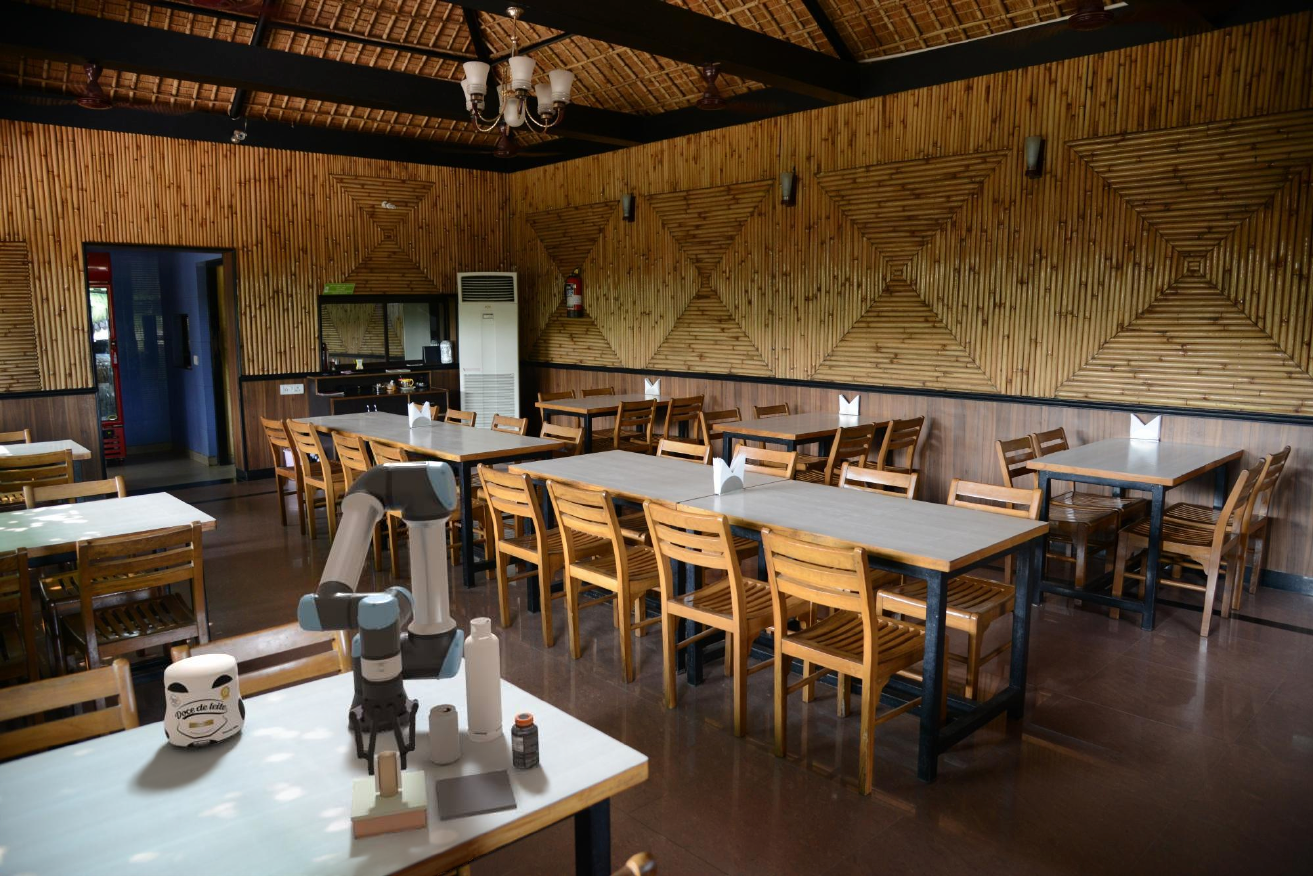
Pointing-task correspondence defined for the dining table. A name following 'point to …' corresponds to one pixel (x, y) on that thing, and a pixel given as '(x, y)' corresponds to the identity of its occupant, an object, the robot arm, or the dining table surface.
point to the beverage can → (444, 734)
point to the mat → (475, 794)
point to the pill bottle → (525, 742)
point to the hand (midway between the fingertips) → (388, 786)
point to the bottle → (483, 682)
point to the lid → (388, 791)
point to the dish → (389, 824)
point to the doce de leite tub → (202, 701)
